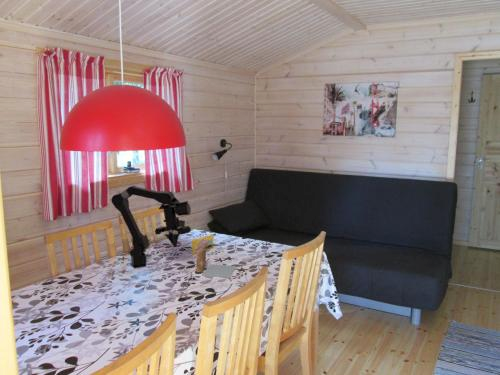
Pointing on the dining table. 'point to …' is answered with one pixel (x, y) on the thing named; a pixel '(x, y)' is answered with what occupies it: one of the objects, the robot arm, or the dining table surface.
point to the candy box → (202, 243)
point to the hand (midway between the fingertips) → (175, 246)
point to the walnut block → (201, 260)
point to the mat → (219, 270)
